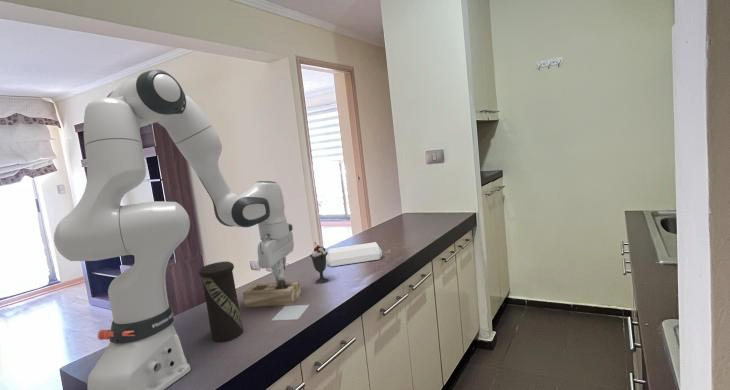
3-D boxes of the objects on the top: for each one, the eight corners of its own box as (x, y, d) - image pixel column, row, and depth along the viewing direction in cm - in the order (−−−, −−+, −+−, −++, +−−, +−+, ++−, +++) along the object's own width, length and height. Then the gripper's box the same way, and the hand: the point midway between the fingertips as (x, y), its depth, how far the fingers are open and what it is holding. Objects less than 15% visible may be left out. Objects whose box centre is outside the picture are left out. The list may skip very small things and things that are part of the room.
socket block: (292, 305, 121) (290, 290, 120) (245, 308, 124) (242, 292, 123) (301, 296, 129) (299, 281, 128) (256, 298, 132) (254, 284, 131)
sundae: (316, 285, 137) (310, 244, 136) (311, 281, 143) (305, 241, 142) (333, 281, 140) (328, 240, 138) (327, 276, 146) (322, 237, 144)
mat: (297, 320, 109) (297, 319, 109) (271, 321, 110) (271, 320, 110) (309, 306, 119) (309, 304, 119) (285, 307, 120) (284, 306, 120)
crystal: (324, 260, 156) (383, 251, 158) (323, 248, 161) (380, 240, 163) (326, 273, 160) (384, 264, 162) (325, 261, 166) (381, 252, 168)
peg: (284, 288, 124) (280, 258, 123) (275, 289, 124) (271, 258, 123) (287, 285, 127) (283, 255, 126) (279, 285, 127) (275, 256, 126)
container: (214, 347, 98) (201, 271, 96) (207, 336, 106) (195, 265, 104) (248, 336, 103) (236, 262, 101) (239, 325, 111) (228, 257, 108)
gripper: (269, 238, 113) (276, 284, 114) (294, 223, 133) (299, 263, 134) (249, 239, 114) (256, 285, 115) (277, 225, 134) (282, 264, 135)
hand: (280, 273), depth 125 cm, fingers closed on peg, 3 cm apart
